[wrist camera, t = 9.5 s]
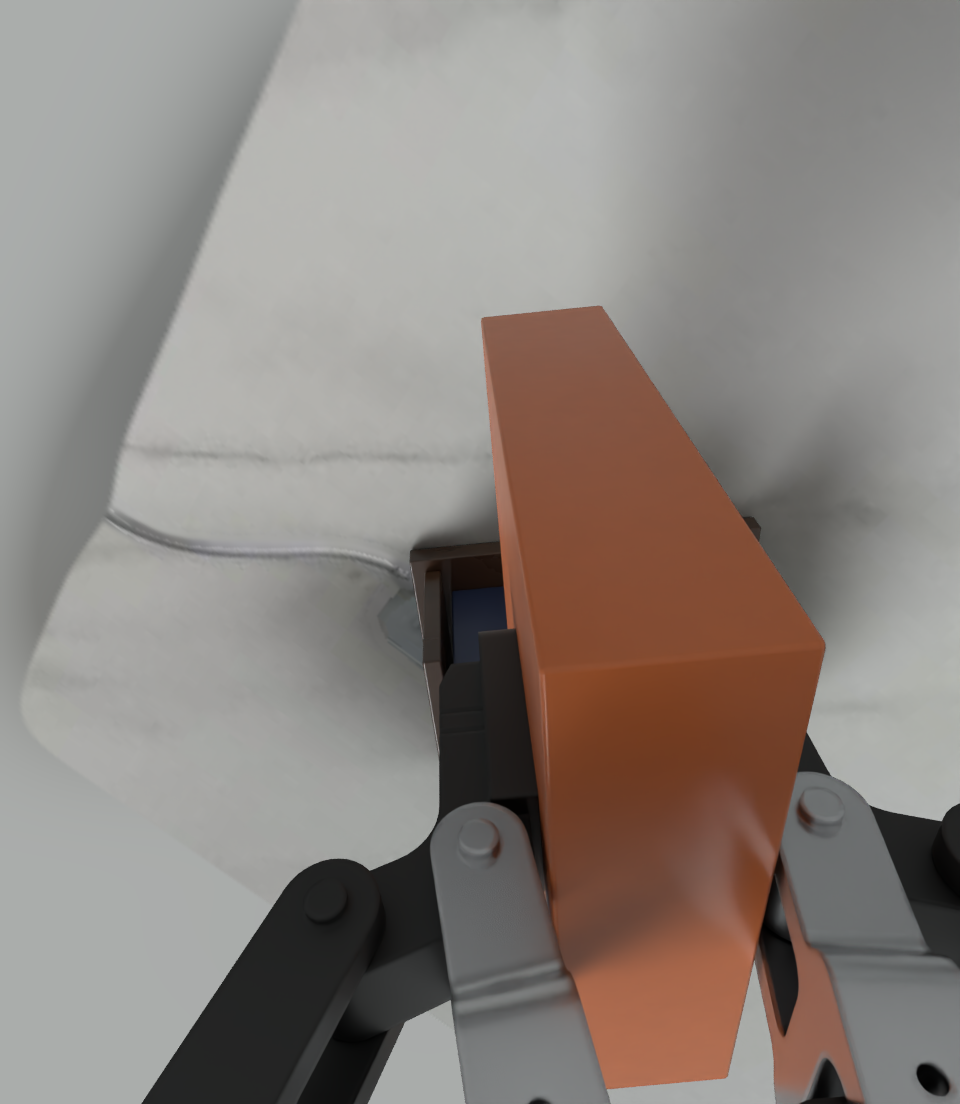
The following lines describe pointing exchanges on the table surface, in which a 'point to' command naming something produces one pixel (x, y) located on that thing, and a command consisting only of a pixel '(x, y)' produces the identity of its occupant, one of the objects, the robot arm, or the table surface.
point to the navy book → (475, 619)
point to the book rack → (433, 593)
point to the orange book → (643, 692)
